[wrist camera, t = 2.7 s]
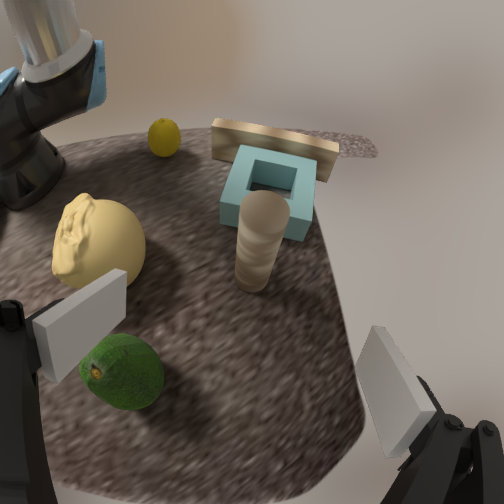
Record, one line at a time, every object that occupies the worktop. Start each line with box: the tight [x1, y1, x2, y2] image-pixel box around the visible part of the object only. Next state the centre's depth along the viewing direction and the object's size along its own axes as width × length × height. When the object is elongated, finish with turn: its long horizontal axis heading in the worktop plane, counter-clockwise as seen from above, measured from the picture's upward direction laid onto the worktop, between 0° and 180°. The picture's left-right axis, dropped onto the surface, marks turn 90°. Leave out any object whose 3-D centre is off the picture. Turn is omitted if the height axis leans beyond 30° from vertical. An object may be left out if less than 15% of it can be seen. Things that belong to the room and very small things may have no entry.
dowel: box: [234, 190, 290, 293], centre depth 31 cm, size 4×4×14 cm
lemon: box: [148, 118, 181, 157], centre depth 44 cm, size 6×6×8 cm
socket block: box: [220, 145, 317, 242], centre depth 41 cm, size 12×12×5 cm
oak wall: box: [211, 118, 339, 183], centre depth 45 cm, size 20×2×7 cm, turn 79°
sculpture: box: [52, 193, 146, 289], centre depth 31 cm, size 12×12×11 cm
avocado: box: [79, 333, 164, 411], centre depth 24 cm, size 8×8×12 cm
